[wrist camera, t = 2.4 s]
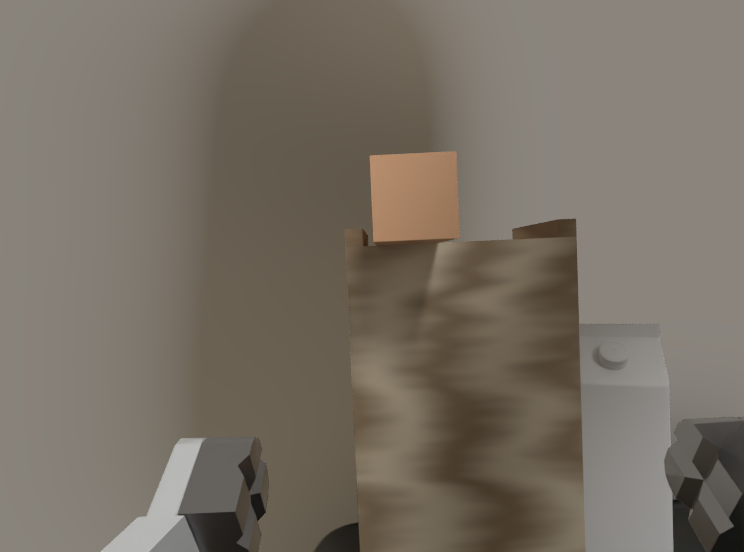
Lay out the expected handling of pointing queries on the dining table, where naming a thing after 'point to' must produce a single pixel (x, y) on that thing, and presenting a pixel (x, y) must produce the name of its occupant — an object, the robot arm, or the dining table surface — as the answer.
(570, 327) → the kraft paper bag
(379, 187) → the bar
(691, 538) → the dining table surface
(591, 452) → the milk carton
